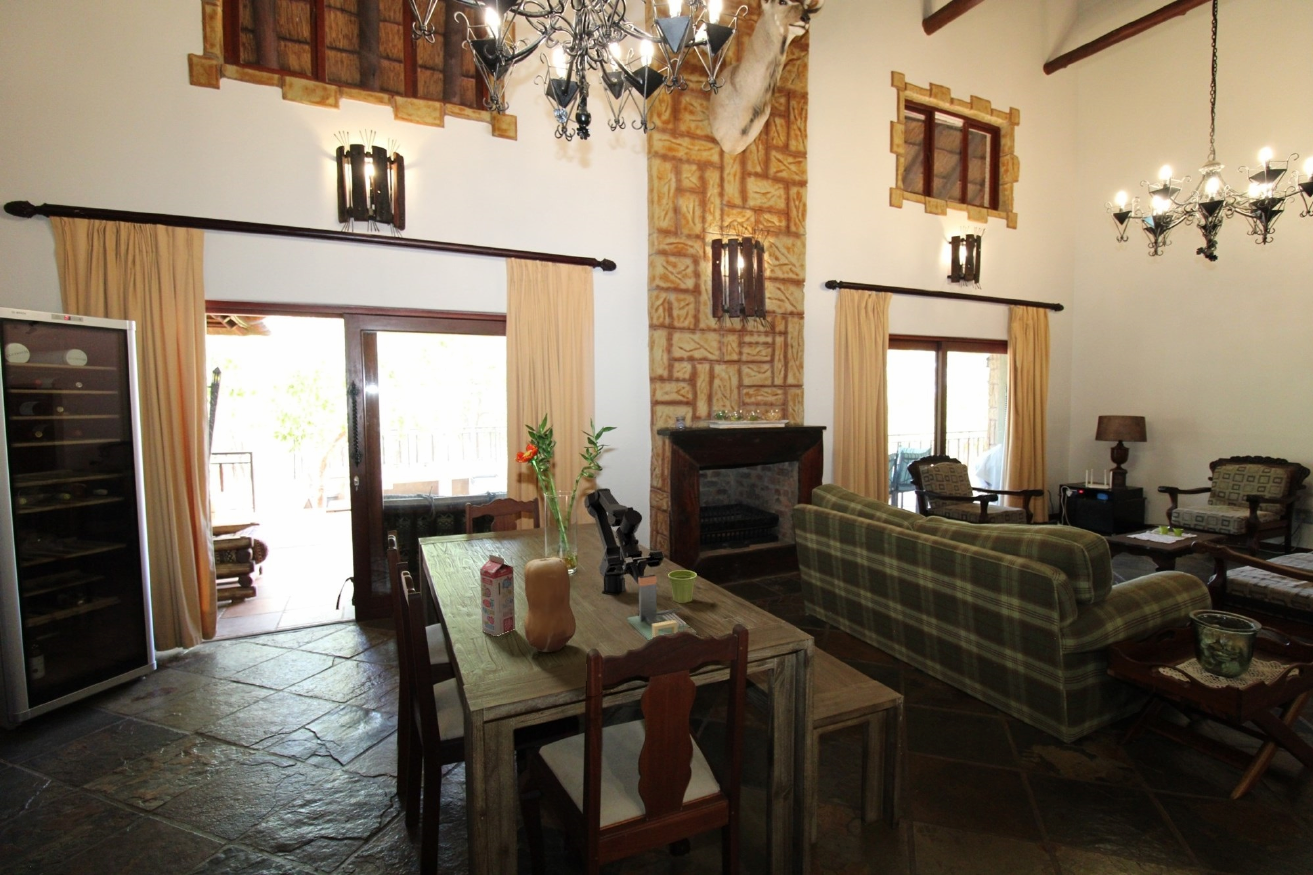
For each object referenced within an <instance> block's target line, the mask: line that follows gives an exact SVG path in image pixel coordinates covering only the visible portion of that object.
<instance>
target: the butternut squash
mask: <svg viewBox="0 0 1313 875" xmlns="http://www.w3.org/2000/svg"><path fill="white" fill-rule="evenodd" d="M569 574H570V573H569V568H568V565H567V563H566V562H565V561H564V559H562V558H560V557H546V558H535V559H532V560H529V561H528V562H526V564H525V566H524V572H523V576H524V592H525V593H524V594H525V598H526V601H527V606H528V609H527V614H526V616H525V620H524V634H525V635H524V636H525V638H526V641H527V642H528V644H529V646H530V647H532V648H535V649H536V650H537V651H539V652H544V653H550V652H551V651H555V652H558V651H560V650H561V649H563V648H564V646H565V645H566V644H568V642H569V641H571V639H572V638H573V637H574V636H575V633H576V628H577V622H576V618H575V615H574V613H573V610H572V608H571V604H570V600H571V598H570V597H571V595H570V594H571V579H570V575H569Z"/></svg>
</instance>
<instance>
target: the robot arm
mask: <svg viewBox="0 0 1313 875" xmlns="http://www.w3.org/2000/svg"><path fill="white" fill-rule="evenodd" d="M583 502H584V507H585V509H586V511H587V513H588V514H589V516H591V517H592V518H593V519H594V521H595V523H596V524H595V525H596V527H597V530H598V534H599V538H600V540H601V544H602V548H603V550H604V553H603V556H602V558H601V560H602V561H601V563H600V565H599V574H600V575H601V576H602V577H603V590H602V591H601V594H606V595H615V596H619V595H621V594H622V593H623V592H625V591H626V590H627V588H626V578H625V576H626V575H630V577H631V578H632V579H634V582H636V583H637V585H638V577H641V576H645V570H646V568H647V567H649V568H655V567H656V568H657V567H660V566H661V564H662V562H663V561H664V559H665V554H664V552H663V551H662V550H651V551H650V552H649V553H648V556H647V555H646V556H642V555H643V550H641V549H640V546H639V542H640V541H639V539H637V537H636V533H637V531H638V529H639V528H640V525H641V523H642V521H643V514H641V513H640V512H639V511H637V509H634V508H633V506H631V507H627V506H626V505H623V504H620V503H619V502H618V501H617V499H616V498H615V496H614V495H613V494H612V492H611V489H610V488H607V487H605V488H603V487H602V488H597V489H595V490H594V491H593V492H591V493H589V494H587V495H586V497H585V498H584V501H583ZM613 528H616V530H615V534H614V532H613ZM616 539H617V541H618V543H617V541H616Z"/></svg>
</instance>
